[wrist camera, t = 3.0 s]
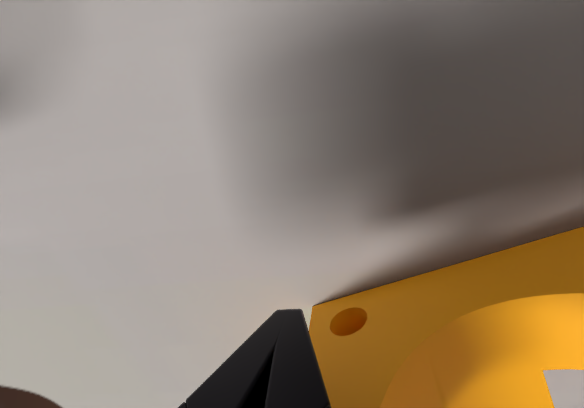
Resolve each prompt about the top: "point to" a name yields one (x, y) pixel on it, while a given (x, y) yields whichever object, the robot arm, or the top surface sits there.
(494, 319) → the pipe clamp
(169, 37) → the top surface
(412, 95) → the top surface
